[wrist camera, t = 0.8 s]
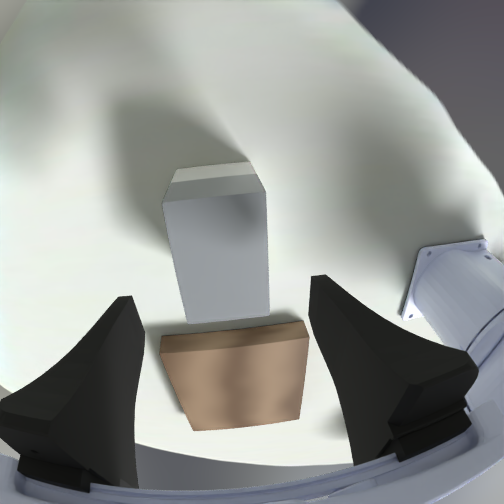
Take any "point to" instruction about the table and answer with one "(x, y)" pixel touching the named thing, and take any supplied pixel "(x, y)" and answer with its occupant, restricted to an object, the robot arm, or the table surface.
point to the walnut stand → (238, 375)
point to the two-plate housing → (219, 241)
